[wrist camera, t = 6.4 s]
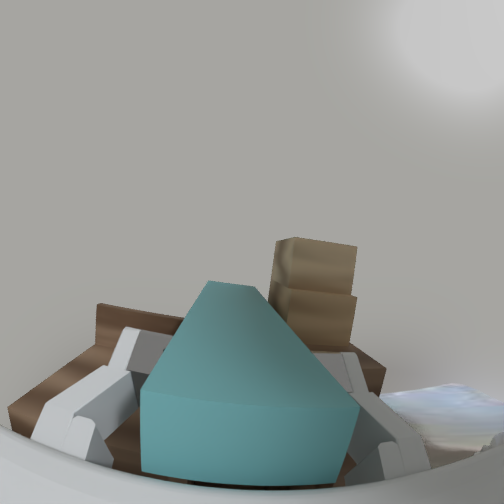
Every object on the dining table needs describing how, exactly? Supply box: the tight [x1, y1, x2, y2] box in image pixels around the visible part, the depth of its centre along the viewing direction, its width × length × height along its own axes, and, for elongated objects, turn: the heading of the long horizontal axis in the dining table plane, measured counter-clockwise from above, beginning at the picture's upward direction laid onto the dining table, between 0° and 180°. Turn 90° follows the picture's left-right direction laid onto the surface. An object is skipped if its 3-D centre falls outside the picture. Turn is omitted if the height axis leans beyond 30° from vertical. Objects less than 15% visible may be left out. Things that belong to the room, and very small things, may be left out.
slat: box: [140, 281, 360, 486], centre depth 16 cm, size 22×4×2 cm, turn 5°
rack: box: [8, 237, 386, 490], centre depth 20 cm, size 16×20×32 cm
